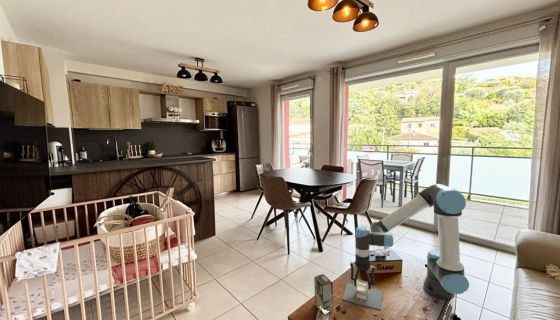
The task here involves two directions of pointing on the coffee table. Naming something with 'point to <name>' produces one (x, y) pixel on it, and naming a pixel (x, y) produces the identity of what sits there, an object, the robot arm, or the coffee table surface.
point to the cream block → (362, 290)
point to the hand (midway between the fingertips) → (362, 292)
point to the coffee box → (323, 292)
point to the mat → (371, 300)
